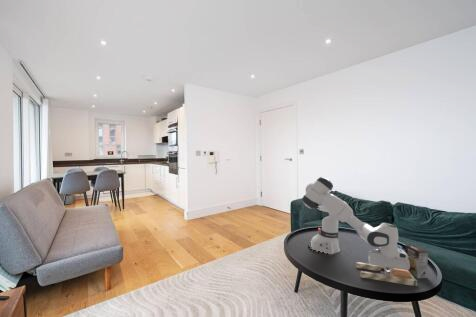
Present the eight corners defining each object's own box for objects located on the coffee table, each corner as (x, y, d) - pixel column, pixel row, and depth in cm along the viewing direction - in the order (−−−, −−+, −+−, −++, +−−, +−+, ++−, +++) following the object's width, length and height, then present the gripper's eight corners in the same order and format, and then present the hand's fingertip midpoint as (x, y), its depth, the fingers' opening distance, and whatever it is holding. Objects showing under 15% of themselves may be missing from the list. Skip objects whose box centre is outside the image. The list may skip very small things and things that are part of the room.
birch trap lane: (361, 277, 123) (361, 272, 123) (355, 263, 138) (355, 259, 138) (417, 286, 115) (417, 281, 115) (404, 270, 129) (404, 266, 129)
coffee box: (403, 269, 131) (404, 244, 130) (413, 269, 131) (414, 244, 131) (417, 278, 122) (418, 251, 121) (427, 278, 122) (428, 251, 122)
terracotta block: (393, 279, 121) (393, 270, 121) (390, 274, 126) (390, 266, 126) (410, 282, 119) (410, 273, 118) (406, 277, 123) (406, 268, 123)
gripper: (369, 250, 123) (369, 273, 124) (411, 256, 117) (410, 280, 118) (366, 246, 129) (366, 267, 130) (406, 251, 123) (405, 274, 124)
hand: (387, 273), depth 124 cm, fingers closed
